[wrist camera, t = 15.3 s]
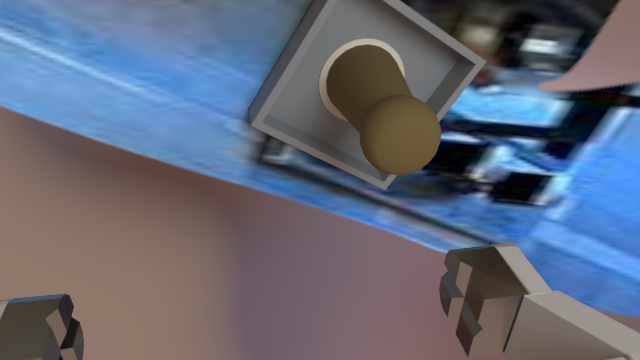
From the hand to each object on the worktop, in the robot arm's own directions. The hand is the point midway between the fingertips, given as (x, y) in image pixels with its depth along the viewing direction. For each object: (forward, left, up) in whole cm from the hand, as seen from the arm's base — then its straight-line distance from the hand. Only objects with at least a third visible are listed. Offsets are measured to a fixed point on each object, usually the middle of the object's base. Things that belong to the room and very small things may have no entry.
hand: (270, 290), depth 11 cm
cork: (+10, -7, -28) cm, 31 cm away
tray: (+10, -7, -29) cm, 32 cm away
